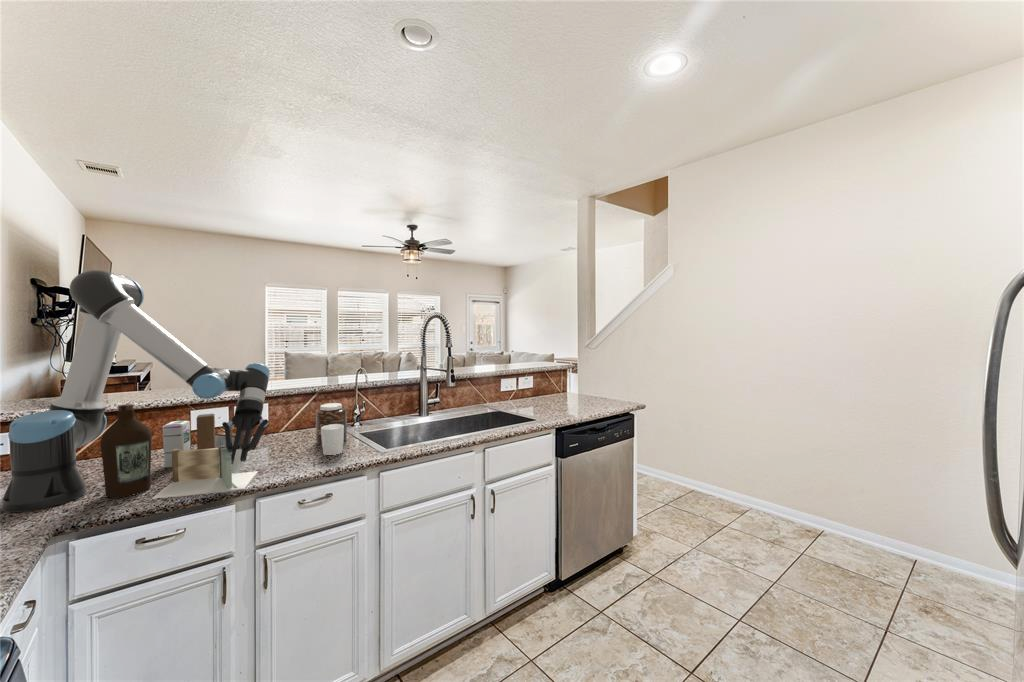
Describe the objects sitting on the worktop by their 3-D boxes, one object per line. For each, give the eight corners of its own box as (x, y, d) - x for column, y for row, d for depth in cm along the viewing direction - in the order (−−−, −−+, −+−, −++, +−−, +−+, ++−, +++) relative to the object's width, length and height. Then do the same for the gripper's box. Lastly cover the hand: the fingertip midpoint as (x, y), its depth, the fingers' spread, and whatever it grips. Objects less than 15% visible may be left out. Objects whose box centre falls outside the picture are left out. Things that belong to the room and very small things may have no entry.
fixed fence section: (171, 483, 123) (170, 451, 122) (174, 481, 125) (173, 449, 124) (225, 478, 127) (225, 446, 127) (227, 476, 129) (227, 445, 129)
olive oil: (96, 494, 115) (92, 406, 114) (143, 481, 124) (141, 400, 123) (111, 502, 110) (108, 410, 109) (160, 488, 119) (157, 403, 118)
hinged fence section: (221, 476, 126) (220, 448, 126) (226, 475, 127) (225, 447, 127) (226, 488, 117) (225, 457, 117) (232, 487, 118) (231, 456, 118)
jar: (352, 441, 168) (351, 405, 167) (323, 447, 160) (322, 409, 159) (339, 435, 176) (339, 401, 176) (311, 441, 168) (310, 405, 167)
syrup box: (184, 466, 138) (183, 423, 137) (163, 468, 136) (162, 424, 136) (192, 460, 143) (190, 419, 143) (171, 462, 142) (170, 421, 141)
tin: (248, 455, 149) (248, 433, 149) (241, 458, 146) (240, 435, 146) (216, 452, 153) (215, 430, 153) (208, 455, 150) (207, 432, 150)
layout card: (151, 499, 112) (151, 497, 112) (176, 480, 126) (176, 478, 126) (244, 489, 119) (244, 488, 119) (258, 472, 133) (258, 470, 132)
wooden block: (180, 475, 130) (178, 419, 129) (182, 471, 134) (180, 416, 133) (215, 469, 135) (213, 415, 134) (216, 465, 138) (214, 413, 138)
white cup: (325, 458, 147) (324, 430, 146) (318, 452, 153) (318, 426, 152) (347, 453, 152) (347, 427, 152) (340, 448, 158) (339, 423, 158)
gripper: (274, 409, 141) (263, 474, 126) (230, 412, 137) (213, 479, 122) (270, 396, 135) (258, 463, 120) (224, 399, 131) (206, 468, 116)
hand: (235, 471), depth 121 cm, fingers closed
